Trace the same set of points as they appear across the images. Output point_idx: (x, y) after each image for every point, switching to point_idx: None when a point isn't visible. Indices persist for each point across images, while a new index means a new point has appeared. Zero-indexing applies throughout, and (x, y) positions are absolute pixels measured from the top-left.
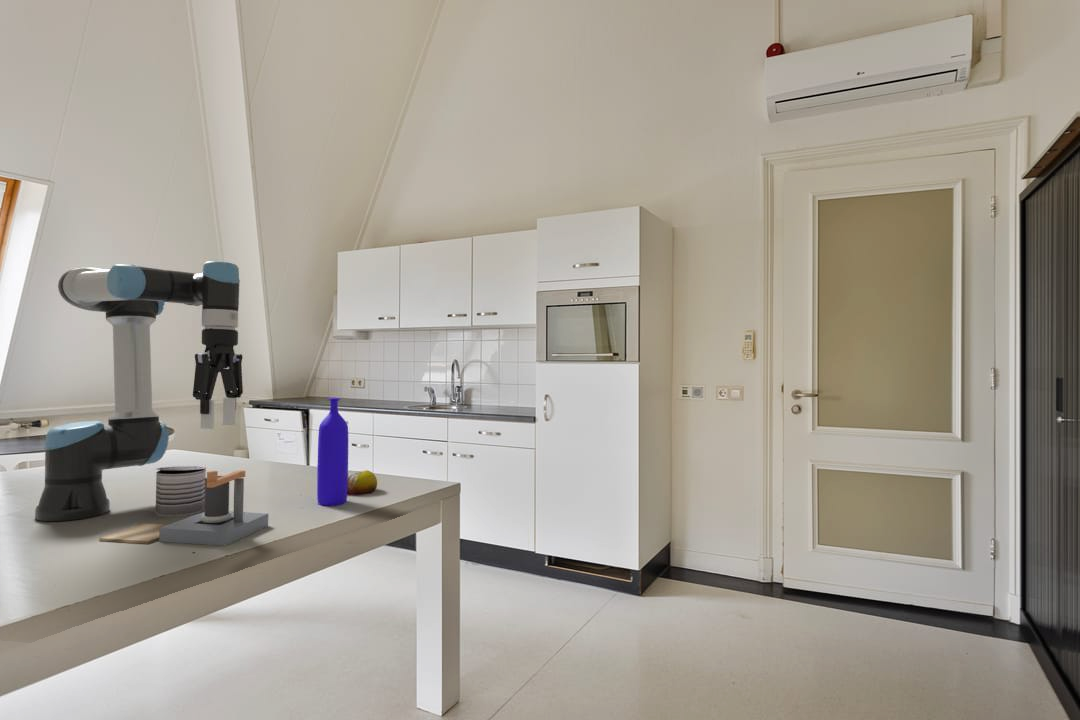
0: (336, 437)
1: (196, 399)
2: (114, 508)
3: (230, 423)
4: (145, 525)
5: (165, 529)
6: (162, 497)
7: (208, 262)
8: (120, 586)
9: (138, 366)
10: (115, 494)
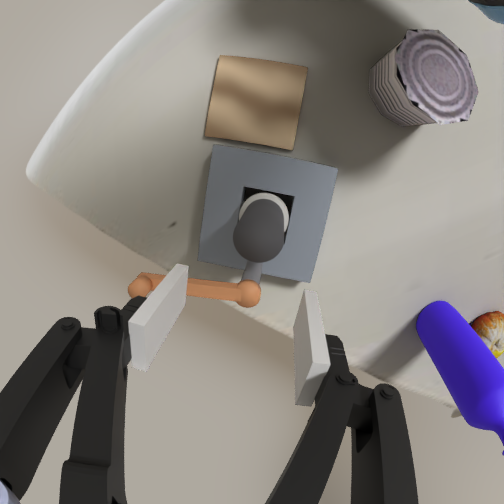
0: (458, 405)
1: (109, 307)
2: None
3: (295, 321)
4: (294, 79)
5: (212, 155)
6: (379, 63)
7: None
8: (74, 208)
9: None
10: None
